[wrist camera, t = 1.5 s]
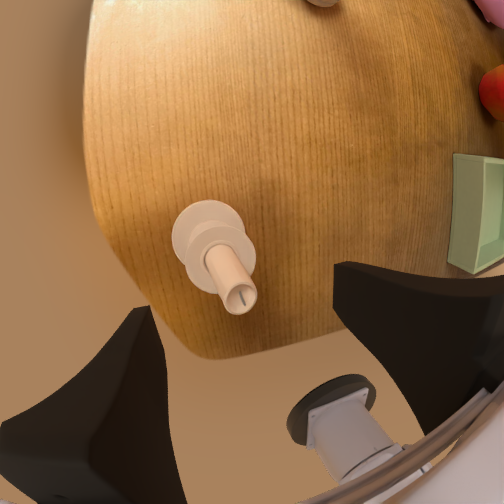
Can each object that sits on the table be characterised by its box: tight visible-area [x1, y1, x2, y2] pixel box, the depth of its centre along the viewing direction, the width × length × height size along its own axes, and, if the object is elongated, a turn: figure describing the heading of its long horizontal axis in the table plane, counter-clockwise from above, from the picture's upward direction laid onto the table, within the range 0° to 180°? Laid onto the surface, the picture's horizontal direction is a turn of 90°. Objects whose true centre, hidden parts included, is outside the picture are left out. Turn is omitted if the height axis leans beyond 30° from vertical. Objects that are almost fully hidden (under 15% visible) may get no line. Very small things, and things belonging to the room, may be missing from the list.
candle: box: [172, 200, 257, 315], centre depth 15 cm, size 5×5×10 cm
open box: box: [447, 153, 504, 274], centre depth 26 cm, size 13×16×4 cm
